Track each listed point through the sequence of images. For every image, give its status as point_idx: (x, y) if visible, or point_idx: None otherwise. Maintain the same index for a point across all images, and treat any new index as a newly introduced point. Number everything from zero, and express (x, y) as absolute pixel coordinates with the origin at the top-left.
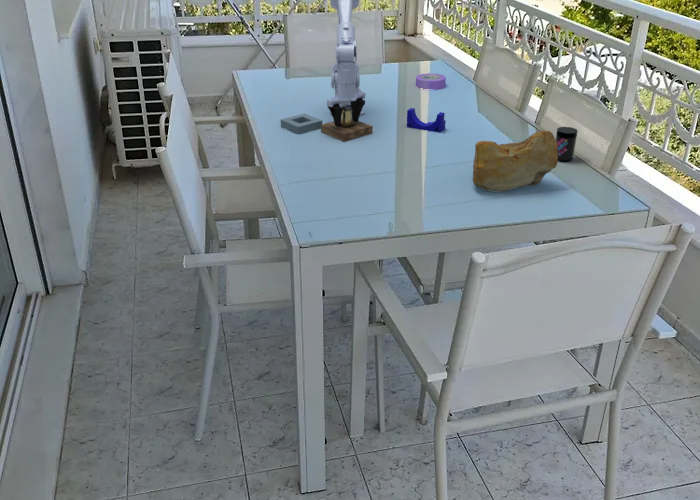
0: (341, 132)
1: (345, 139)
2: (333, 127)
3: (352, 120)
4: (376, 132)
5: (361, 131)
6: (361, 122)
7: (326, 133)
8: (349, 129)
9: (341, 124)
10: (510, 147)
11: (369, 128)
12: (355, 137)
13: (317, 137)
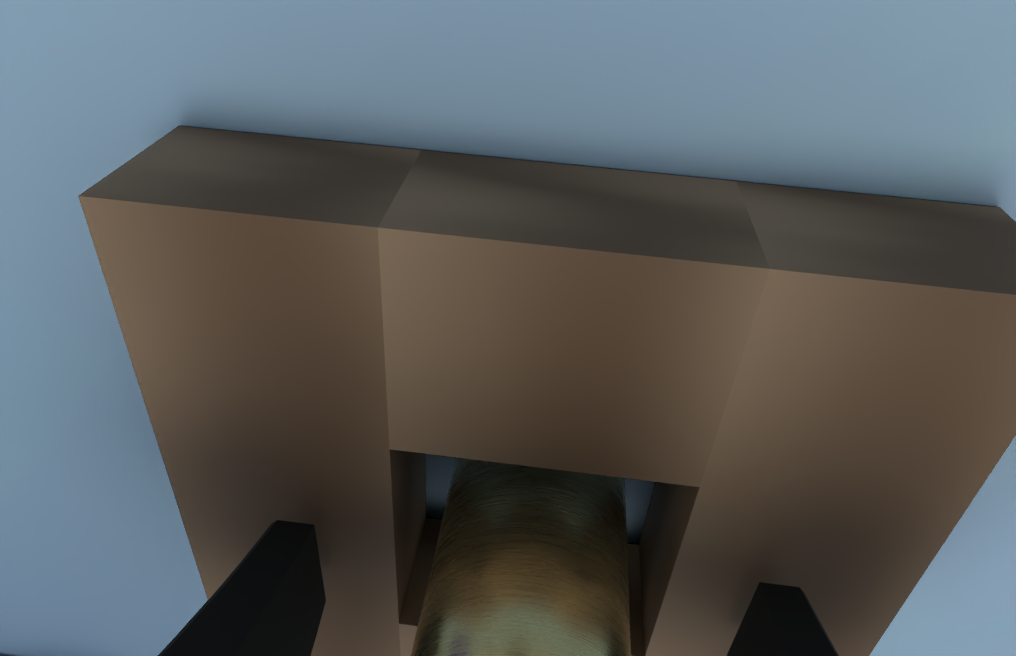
0: (1003, 414)
1: (980, 223)
2: None
3: None
4: (72, 105)
5: (478, 207)
6: (193, 483)
7: None
8: (694, 411)
9: None
10: None
11: (204, 190)
12: (668, 182)
13: (1004, 601)
